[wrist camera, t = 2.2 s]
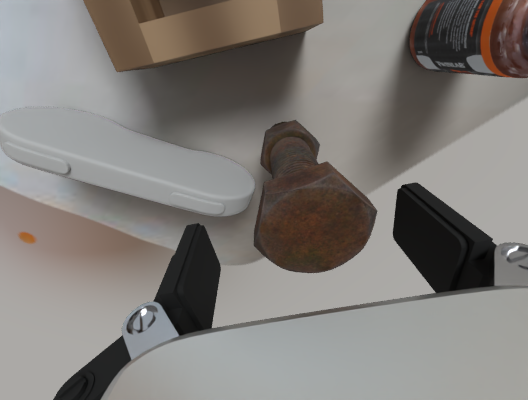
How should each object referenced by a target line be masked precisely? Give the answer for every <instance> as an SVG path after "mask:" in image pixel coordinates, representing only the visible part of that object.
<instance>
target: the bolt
mask: <svg viewBox="0 0 528 400" xmlns="http://www.w3.org/2000/svg"><path fill="white" fill-rule="evenodd" d="M319 146H320V144H319V142H318V141H317V139H316V138H315V137H314V136H313V135H312V134H310V133H309V132H308V131H307V130H306V129H305V128H304V127H303V126H302V125H301V124H300V123H298V122H297V121H296V120H293V121H289V122H281V123H278V124H275V125H274V126H272V127H271V129H269V130H266V132H265V137H264V142H263V147H262V153H261V165H262V166H263V167H264V168H265V169H266V170H267V171H268V172H269V173H270V174H272V180H269V181H266V182H264V186H263V191H262V195H261V200H260V205H259V210H258V215H257V220H256V225H255V230H254V246H255V247H256V248H257V249H258V250H259V251H260V252H261V253H262V254H263V255H264V256H265V257H266V258H268V259H269V260H270V261H271V262H273V263H274V264H276V265H277V266H279V267H281V268H283V269H286V270H289V271H294V272H302V273H319V272H325V271H328V270H332V269H334V268H336V267H338V266H340V265H342V264H344V263H346V262H347V261H348V260H350V259H352V258H353V257H354V256H355V255H357V254H358V253H359V252H360V251H361V250H362V249H363V248H364V246H365V245H366V243H367V241H368V239H369V237H370V235H371V232H372V230H373V226H374V223H375V219H376V214H377V210H376V208H375V207H374V206H373V204H372V203H371V202H370V200H369V199H368V198H367V197H366V196H365V195H364V194H363V193H362V192H360V191H359V190H358V189H357V188H356V187H355V186H354V185H353V184H352V183H350V182H349V181H348V180H347V179H346V178H345V177H344V176H343V175H342V174H340V173H339V172H338V171H337V170H336V169H335V168H334V167H333V166H332V165H330V164H329V163H328V162H324V163H321V164H318V162H317V160H316V159H317V155H318V151H319Z"/></svg>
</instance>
